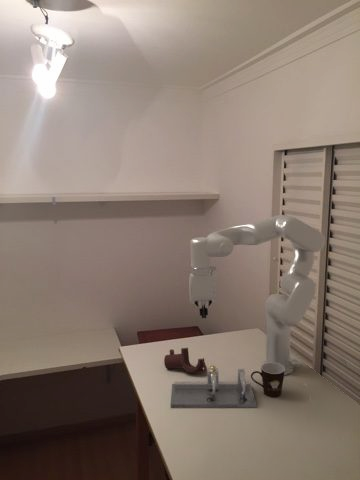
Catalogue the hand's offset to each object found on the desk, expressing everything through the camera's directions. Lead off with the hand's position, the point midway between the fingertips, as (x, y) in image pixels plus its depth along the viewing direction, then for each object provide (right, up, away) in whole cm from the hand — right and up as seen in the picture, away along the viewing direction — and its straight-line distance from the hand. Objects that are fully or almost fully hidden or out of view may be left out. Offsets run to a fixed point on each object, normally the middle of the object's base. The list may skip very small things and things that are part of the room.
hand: (203, 316), depth 161 cm
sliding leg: (+3, -26, -6) cm, 27 cm away
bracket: (-7, -25, +14) cm, 29 cm away
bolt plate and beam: (+3, -28, -6) cm, 29 cm away
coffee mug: (+24, -27, -4) cm, 37 cm away
